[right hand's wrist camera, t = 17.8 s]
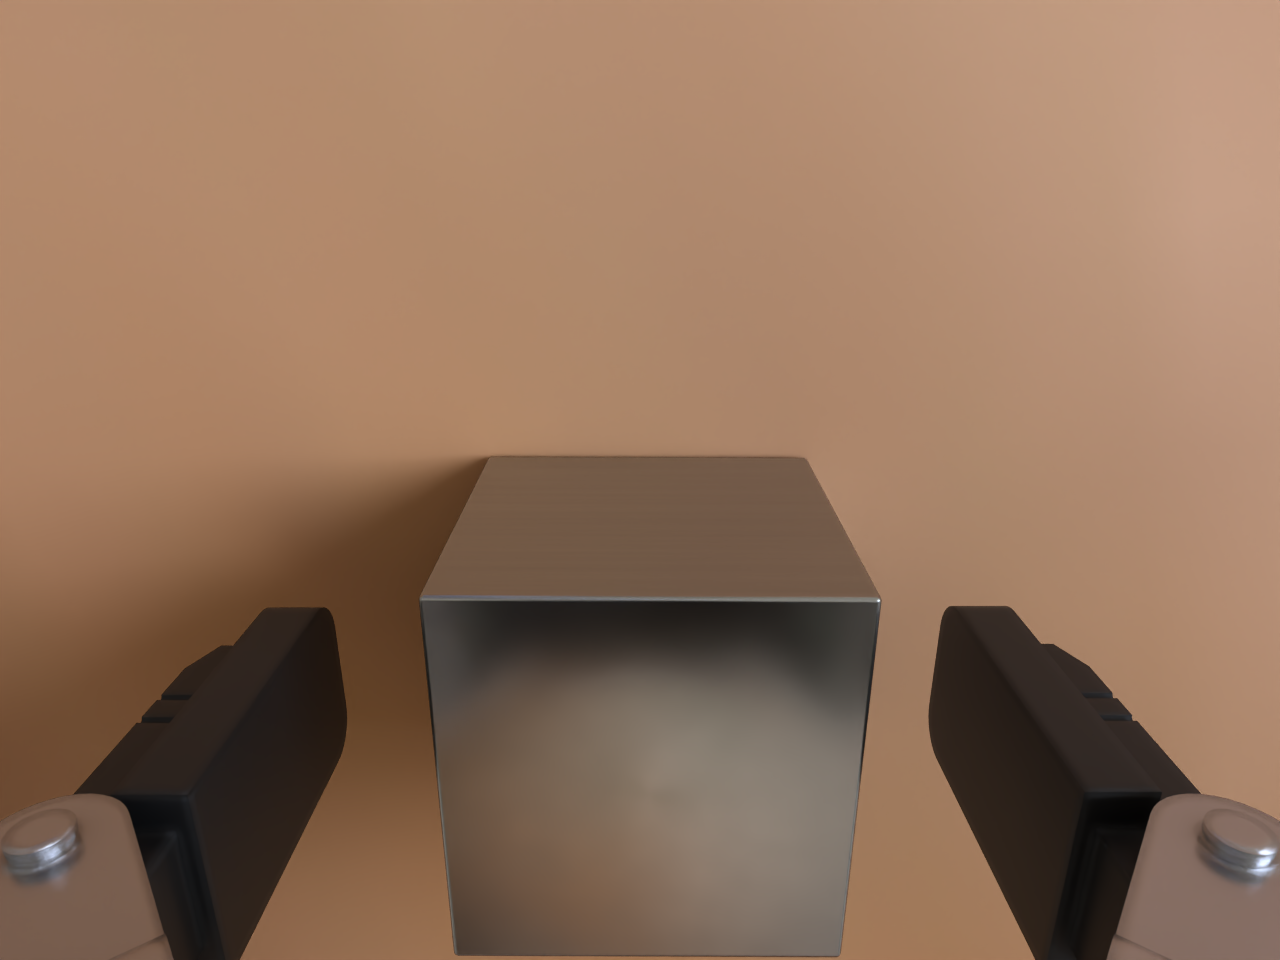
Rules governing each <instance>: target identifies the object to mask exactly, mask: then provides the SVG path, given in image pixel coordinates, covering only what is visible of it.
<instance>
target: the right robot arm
mask: <svg viewBox="0 0 1280 960" xmlns="http://www.w3.org/2000/svg"><path fill="white" fill-rule="evenodd" d="M346 728H347V709H346V701H345V694H344V687H343V680H342V673H341V666H340V659H339V652H338V645H337V638H336V631H335V625H334V620H333V617H332V615H331V613H330V611H329V610H328V609H327V608H266V609H264V610H263V611H262V612H261V613H260V614H259V615H258V617H257V618H256V619H255V620H254V621H253V623H252V624H251V625H250V626H249V627H248V629H247V630H246V631H245V632H244V633H243V635H242V636H241V637H240V638H239V639H238V641H237V642H236V643H235V644H234V646H220V647H218V648H217V649H215V650H214V651H212V652H210V653H209V654H207V655H206V656H204V657H202V658H201V659H199V660H198V661H196V662H194V663H193V664H191V665H190V666H188V667H186V668H185V669H184V670H183V671H182V672H181V674H180V675H179V676H178V677H177V678H176V679H175V680H174V681H173V683H172V684H171V685H170V686H169V687H168V688H167V689H166V690H165V692H164V693H163V694H162V698H161V700H157V701H156V702H155V703H154V704H153V705H152V706H151V707H150V709H149V710H148V711H147V712H146V713H145V714H144V715H143V716H142V722H141V723H136V724H135V725H134V727H133V728H132V729H131V730H130V731H129V732H128V733H127V734H126V736H125V737H124V738H123V739H122V740H121V741H120V742H119V744H118V745H117V746H116V747H115V748H114V749H113V750H112V751H111V753H110V754H109V755H108V756H107V757H106V758H105V759H104V760H103V762H102V763H101V764H100V765H99V766H98V767H97V768H96V769H95V771H94V772H93V773H92V774H91V775H90V776H89V777H88V779H87V780H86V781H85V782H84V783H83V784H82V785H81V786H80V788H79V789H78V790H77V791H76V792H75V793H74V794H73V795H68V796H63V797H58V798H54V799H50V800H47V801H44V802H41V803H38V804H35V805H33V806H30V807H28V808H25V809H23V810H21V811H18V812H16V813H14V814H12V815H10V816H8V817H7V818H5V819H3V820H2V821H0V960H240V958H241V956H242V954H243V952H244V950H245V948H246V946H247V944H248V942H249V940H250V938H251V936H252V934H253V932H254V930H255V928H256V926H257V924H258V922H259V920H260V918H261V916H262V914H263V912H264V910H265V908H266V906H267V904H268V902H269V900H270V898H271V896H272V894H273V892H274V890H275V888H276V886H277V884H278V882H279V880H280V878H281V876H282V874H283V872H284V870H285V868H286V866H287V864H288V862H289V860H290V858H291V855H292V853H293V851H294V849H295V847H296V845H297V843H298V841H299V839H300V837H301V835H302V833H303V831H304V829H305V827H306V825H307V823H308V821H309V819H310V817H311V815H312V813H313V811H314V809H315V807H316V805H317V803H318V801H319V799H320V797H321V795H322V793H323V791H324V789H325V787H326V785H327V783H328V781H329V779H330V777H331V775H332V773H333V771H334V769H335V767H336V765H337V763H338V761H339V759H340V756H341V754H342V751H343V747H344V742H345V737H346ZM929 731H930V738H931V743H932V747H933V750H934V753H935V756H936V758H937V760H938V762H939V764H940V766H941V768H942V770H943V773H944V775H945V777H946V779H947V781H948V783H949V785H950V787H951V789H952V791H953V793H954V795H955V797H956V799H957V801H958V803H959V805H960V807H961V809H962V811H963V813H964V815H965V817H966V819H967V821H968V823H969V825H970V827H971V830H972V832H973V834H974V836H975V838H976V840H977V842H978V844H979V846H980V848H981V850H982V852H983V854H984V856H985V858H986V860H987V862H988V864H989V866H990V868H991V870H992V872H993V874H994V876H995V878H996V880H997V882H998V884H999V886H1000V889H1001V891H1002V893H1003V895H1004V897H1005V899H1006V901H1007V903H1008V905H1009V907H1010V909H1011V911H1012V913H1013V915H1014V917H1015V919H1016V921H1017V923H1018V925H1019V927H1020V929H1021V931H1022V933H1023V935H1024V937H1025V939H1026V941H1027V943H1028V946H1029V948H1030V950H1031V952H1032V954H1033V956H1034V958H1035V960H1280V821H1278V820H1277V819H1275V818H1273V817H1272V816H1270V815H1268V814H1266V813H1264V812H1262V811H1259V810H1257V809H1255V808H1252V807H1250V806H1247V805H1245V804H1242V803H1239V802H1236V801H1233V800H1230V799H1226V798H1222V797H1217V796H1212V795H1205V794H1201V793H1200V792H1199V791H1198V790H1197V789H1196V788H1195V786H1194V785H1193V784H1192V783H1191V782H1190V781H1189V780H1188V778H1187V777H1186V776H1185V775H1184V774H1183V773H1182V772H1181V771H1180V769H1179V768H1178V767H1177V766H1176V765H1175V764H1174V763H1173V761H1172V760H1171V759H1170V758H1169V757H1168V756H1167V755H1166V753H1165V752H1164V751H1163V750H1162V749H1161V748H1160V747H1159V745H1158V744H1157V743H1156V742H1155V741H1154V740H1153V739H1152V737H1151V736H1150V735H1149V734H1148V733H1147V732H1146V731H1145V729H1144V728H1143V727H1142V726H1141V725H1140V724H1139V723H1138V722H1137V721H1133V720H1132V715H1131V714H1130V712H1129V711H1128V710H1127V709H1126V708H1125V707H1124V706H1123V704H1122V703H1121V702H1120V701H1119V700H1118V699H1117V698H1113V696H1112V692H1111V691H1110V690H1109V688H1108V687H1107V686H1106V685H1105V684H1104V683H1103V682H1102V680H1101V679H1100V678H1099V677H1098V676H1097V675H1096V674H1095V673H1094V671H1093V670H1092V669H1091V668H1090V667H1089V666H1088V665H1086V664H1084V663H1083V662H1081V661H1080V660H1078V659H1076V658H1075V657H1073V656H1072V655H1070V654H1068V653H1067V652H1065V651H1064V650H1062V649H1060V648H1059V647H1057V646H1056V645H1054V644H1041V643H1040V642H1039V641H1038V640H1037V638H1036V637H1035V636H1034V635H1033V634H1032V632H1031V631H1030V630H1029V629H1028V627H1027V626H1026V625H1025V624H1024V623H1023V621H1022V620H1021V619H1020V618H1019V617H1018V615H1017V614H1016V613H1015V612H1014V611H1013V610H1012V609H1011V608H1010V607H1007V606H950V607H948V608H947V609H946V610H945V612H944V614H943V617H942V620H941V625H940V632H939V639H938V647H937V654H936V661H935V668H934V675H933V682H932V689H931V697H930V704H929Z"/></svg>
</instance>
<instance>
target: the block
mask: <svg viewBox="0 0 1280 960" xmlns="http://www.w3.org/2000/svg"><path fill="white" fill-rule="evenodd" d="M419 606H420V616H421V626H422V636H423V646H424V656H425V666H426V676H427V686H428V696H429V706H430V716H431V726H432V736H433V746H434V756H435V766H436V776H437V786H438V796H439V806H440V816H441V826H442V836H443V846H444V856H445V866H446V876H447V886H448V896H449V906H450V916H451V927H452V937H453V947H454V953H455V955H458V956H670V957H838V956H840V954H841V947H842V939H843V930H844V921H845V913H846V904H847V895H848V887H849V878H850V869H851V861H852V852H853V843H854V834H855V826H856V817H857V808H858V800H859V791H860V782H861V774H862V765H863V756H864V748H865V739H866V730H867V722H868V713H869V704H870V696H871V687H872V678H873V670H874V661H875V652H876V643H877V635H878V626H879V617H880V609H881V598H880V596H879V594H878V592H877V590H876V588H875V586H874V584H873V582H872V581H871V579H870V577H869V575H868V573H867V571H866V569H865V568H864V566H863V564H862V562H861V560H860V558H859V556H858V554H857V553H856V551H855V549H854V547H853V545H852V543H851V541H850V539H849V538H848V536H847V534H846V532H845V530H844V528H843V526H842V525H841V523H840V521H839V519H838V517H837V515H836V513H835V511H834V510H833V508H832V506H831V504H830V502H829V500H828V498H827V497H826V495H825V493H824V491H823V489H822V487H821V485H820V483H819V482H818V480H817V478H816V476H815V474H814V472H813V470H812V469H811V467H810V465H809V463H808V461H807V459H805V458H663V457H490V458H489V459H488V461H487V463H486V465H485V467H484V469H483V471H482V473H481V475H480V477H479V479H478V481H477V483H476V485H475V487H474V489H473V491H472V493H471V495H470V497H469V499H468V501H467V503H466V505H465V507H464V509H463V511H462V513H461V515H460V517H459V519H458V521H457V523H456V525H455V527H454V529H453V531H452V533H451V535H450V537H449V539H448V541H447V543H446V545H445V547H444V549H443V551H442V553H441V555H440V557H439V559H438V561H437V563H436V565H435V567H434V569H433V571H432V573H431V575H430V577H429V579H428V581H427V583H426V585H425V587H424V589H423V591H422V593H421V595H420V597H419Z"/></svg>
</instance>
